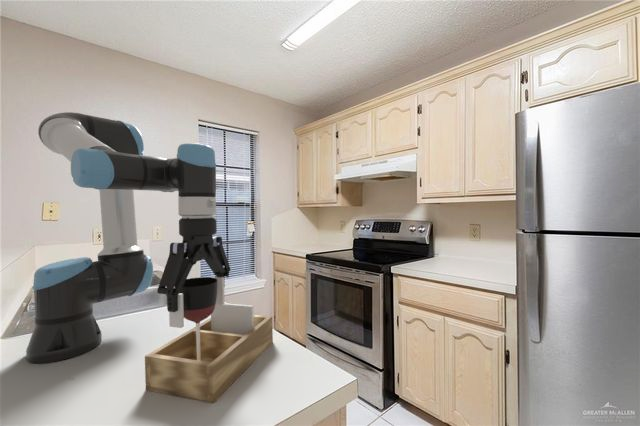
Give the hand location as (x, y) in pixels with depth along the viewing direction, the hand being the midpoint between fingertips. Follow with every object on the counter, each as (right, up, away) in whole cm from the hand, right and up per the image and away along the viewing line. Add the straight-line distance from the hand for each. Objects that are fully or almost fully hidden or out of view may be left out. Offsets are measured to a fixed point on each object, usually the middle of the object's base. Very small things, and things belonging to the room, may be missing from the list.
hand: (199, 314), depth 64 cm
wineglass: (0, -13, -1) cm, 13 cm away
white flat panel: (+4, -12, +12) cm, 17 cm away
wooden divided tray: (+2, -14, +6) cm, 15 cm away
